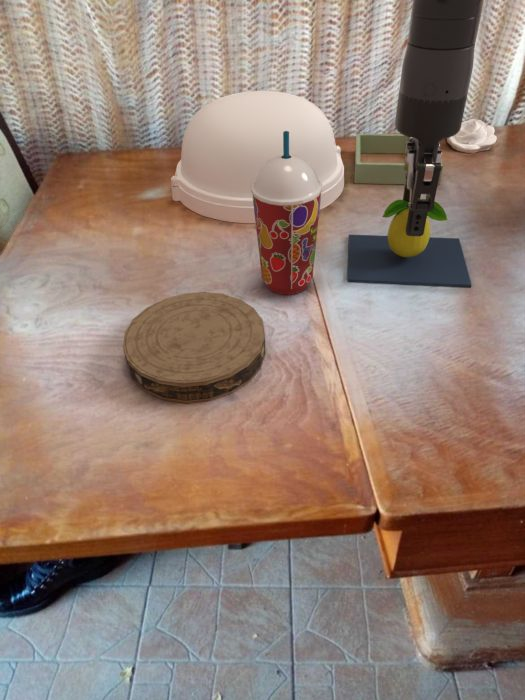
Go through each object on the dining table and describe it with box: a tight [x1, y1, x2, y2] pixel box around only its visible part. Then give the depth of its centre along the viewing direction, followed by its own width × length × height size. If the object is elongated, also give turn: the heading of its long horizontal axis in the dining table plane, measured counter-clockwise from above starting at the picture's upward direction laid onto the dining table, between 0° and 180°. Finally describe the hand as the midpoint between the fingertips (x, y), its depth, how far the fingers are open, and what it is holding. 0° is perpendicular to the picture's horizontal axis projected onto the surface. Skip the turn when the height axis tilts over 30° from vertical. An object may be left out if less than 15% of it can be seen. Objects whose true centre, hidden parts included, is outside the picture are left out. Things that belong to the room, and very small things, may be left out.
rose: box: [446, 118, 498, 154], centre depth 105 cm, size 10×4×10 cm
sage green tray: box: [353, 133, 444, 186], centre depth 98 cm, size 15×15×4 cm
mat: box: [346, 234, 472, 288], centre depth 75 cm, size 16×12×1 cm
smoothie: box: [251, 131, 322, 295], centre depth 66 cm, size 8×8×20 cm
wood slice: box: [122, 291, 266, 404], centre depth 61 cm, size 16×16×3 cm
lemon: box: [382, 198, 448, 258], centre depth 72 cm, size 7×6×10 cm
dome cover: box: [170, 90, 345, 224], centre depth 92 cm, size 32×30×14 cm
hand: (412, 220), depth 71 cm, fingers open, 7 cm apart
